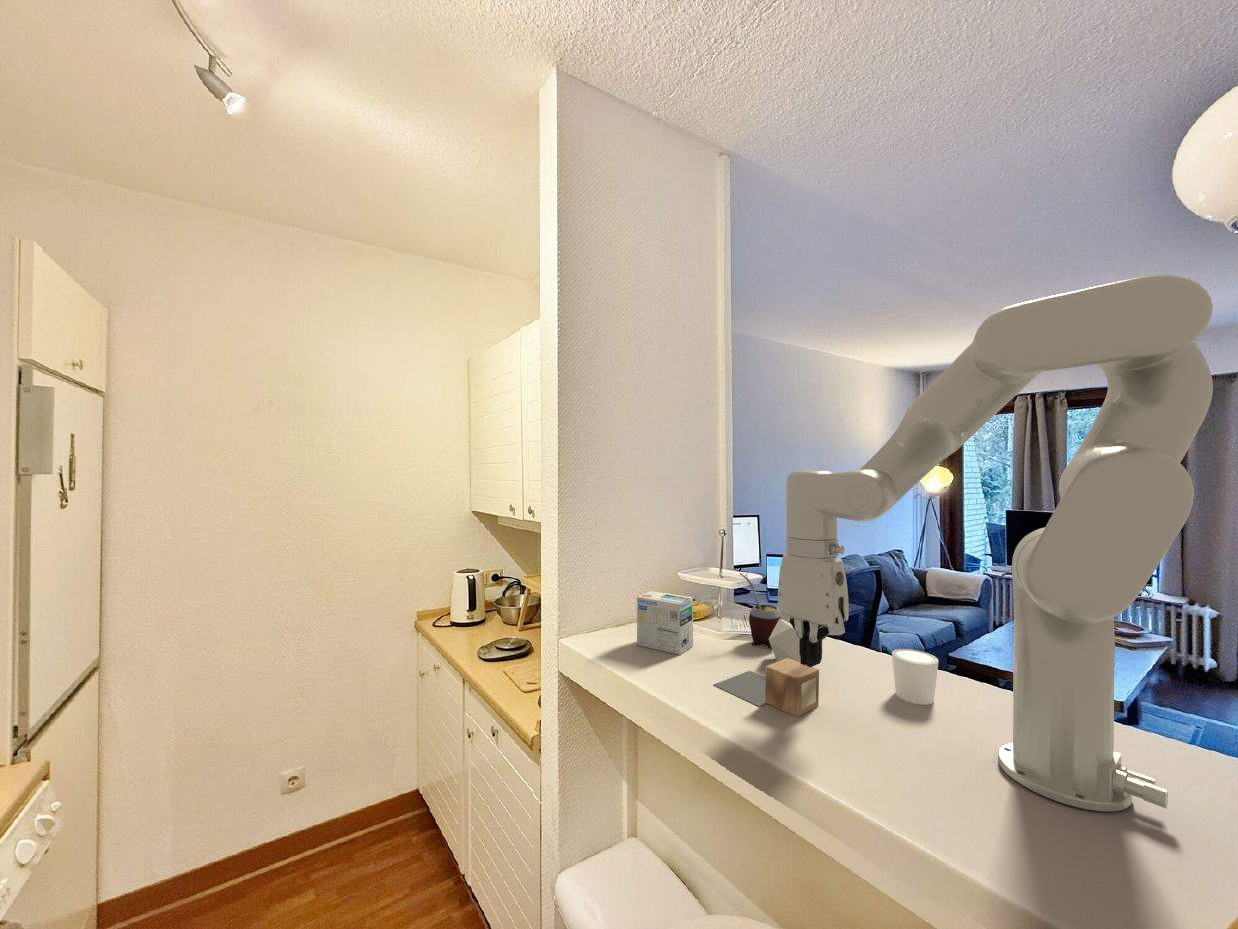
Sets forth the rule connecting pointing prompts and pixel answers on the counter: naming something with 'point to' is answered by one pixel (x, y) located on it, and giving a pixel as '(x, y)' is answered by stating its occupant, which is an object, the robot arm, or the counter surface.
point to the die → (785, 641)
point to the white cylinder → (915, 675)
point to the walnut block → (792, 686)
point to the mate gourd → (762, 620)
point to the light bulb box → (665, 622)
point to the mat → (746, 687)
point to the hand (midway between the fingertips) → (810, 663)
